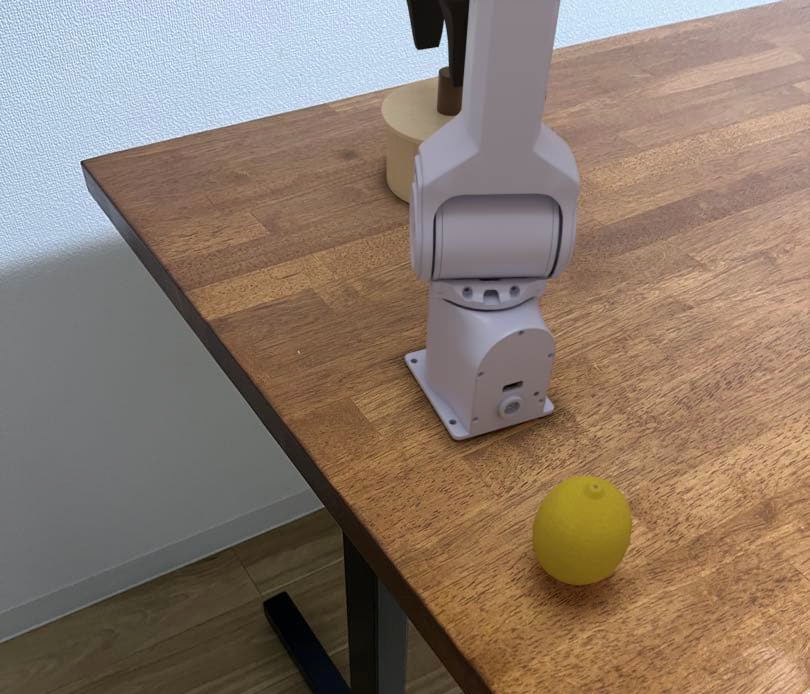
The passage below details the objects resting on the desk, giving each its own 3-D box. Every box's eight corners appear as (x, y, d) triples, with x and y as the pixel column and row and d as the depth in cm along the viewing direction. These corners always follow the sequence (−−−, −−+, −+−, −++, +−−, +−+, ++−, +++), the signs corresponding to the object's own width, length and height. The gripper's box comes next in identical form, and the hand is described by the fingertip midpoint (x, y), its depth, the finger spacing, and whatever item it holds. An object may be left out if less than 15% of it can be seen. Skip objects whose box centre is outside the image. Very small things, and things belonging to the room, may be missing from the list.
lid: (541, 142, 72) (549, 91, 68) (413, 167, 68) (414, 115, 65) (480, 82, 78) (485, 34, 75) (361, 103, 75) (360, 53, 72)
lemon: (611, 617, 48) (646, 534, 41) (518, 600, 48) (539, 516, 42) (615, 544, 51) (648, 457, 45) (528, 529, 52) (549, 442, 45)
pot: (525, 197, 76) (535, 133, 71) (414, 221, 73) (416, 156, 68) (473, 141, 82) (479, 79, 78) (369, 161, 79) (368, 98, 75)
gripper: (552, -113, 56) (525, 93, 66) (462, -166, 64) (451, 26, 74) (459, -103, 54) (447, 107, 65) (379, -159, 62) (380, 37, 73)
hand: (444, 65), depth 69 cm, fingers open, 7 cm apart
